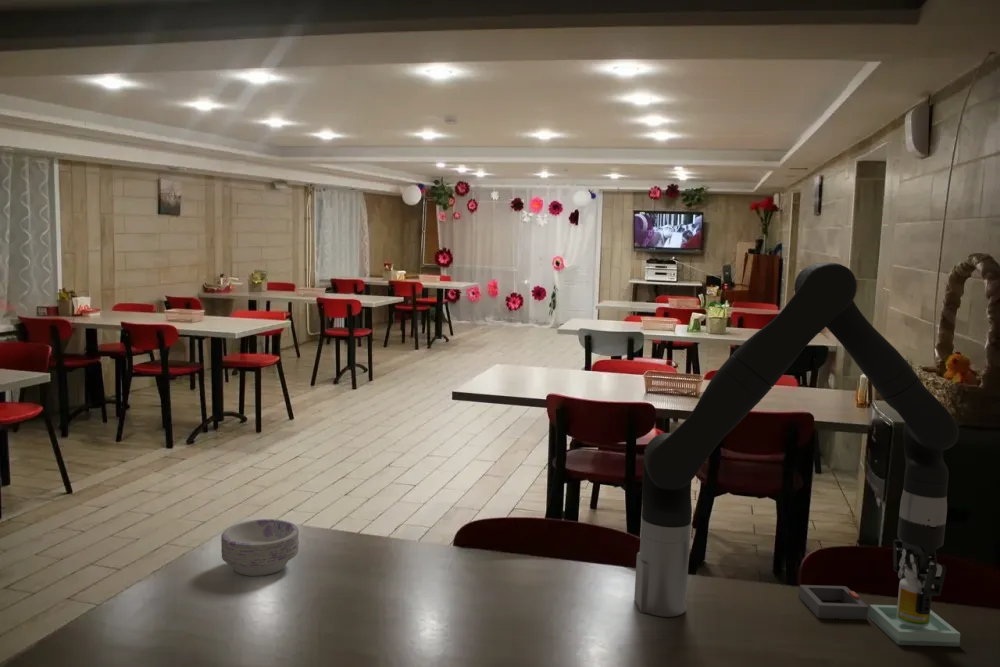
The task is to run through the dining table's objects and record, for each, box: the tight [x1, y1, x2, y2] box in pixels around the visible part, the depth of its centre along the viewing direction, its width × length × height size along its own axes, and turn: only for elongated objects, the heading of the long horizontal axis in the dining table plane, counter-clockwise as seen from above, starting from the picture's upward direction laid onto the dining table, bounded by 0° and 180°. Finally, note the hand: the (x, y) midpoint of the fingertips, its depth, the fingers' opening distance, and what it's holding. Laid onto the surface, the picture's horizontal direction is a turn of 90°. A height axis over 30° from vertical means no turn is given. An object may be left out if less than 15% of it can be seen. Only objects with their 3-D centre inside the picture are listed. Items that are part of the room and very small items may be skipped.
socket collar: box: [798, 584, 869, 620], centre depth 156 cm, size 9×9×3 cm
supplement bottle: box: [896, 567, 932, 627], centre depth 147 cm, size 5×5×10 cm
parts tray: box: [867, 604, 961, 647], centre depth 147 cm, size 11×11×2 cm
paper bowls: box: [220, 518, 300, 577], centre depth 164 cm, size 15×15×8 cm
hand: (913, 605), depth 147 cm, fingers closed on supplement bottle, 5 cm apart
